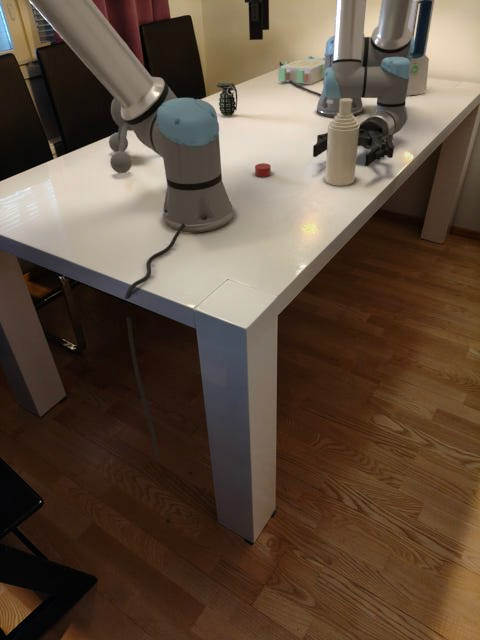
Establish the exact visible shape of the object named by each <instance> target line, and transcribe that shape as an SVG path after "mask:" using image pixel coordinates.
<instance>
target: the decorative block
mask: <svg viewBox="0 0 480 640" xmlns="http://www.w3.org/2000/svg"><path fill="white" fill-rule="evenodd" d="M282 65H283V66H281V65H280V67H279V68H278V69H277V70H278V71H277V73H278V74H277V76H278V77H277V79H278V82H285V83H286V82H287V83H290V82H289V81H290V80H291V81H292V82H294V83H296V84H304V85H312V84H315V83H317V82H319V81H321V80H324V71H325V57H313V56H312V55H311V56H308V57H306V58H303V59H302V58H299V59H297V60H295V61H292V62H289V61H285V62H284V63H283V64H282Z"/></svg>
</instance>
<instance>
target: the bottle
mask: <svg viewBox="0 0 480 640" xmlns="http://www.w3.org/2000/svg"><path fill="white" fill-rule="evenodd" d="M339 102H340V104H339V113H337V115H336V116H335V117H332V119H331V120H330V121H329V124H328V125H327V133H328V138H327V150H326V157H325V174H324V181H325V183H327V184H329V185H331V186H337V187H338V186H341V187H343V186H348V185H352V184H353V183H354V181H355V176H356V166H357V158H358V147H359V146H358V138H359V128H360V126H359V125H360V123H359V121H358V120H357V118H356V116H353V114H352V113H351V107H352V99H350V98H342V99H340V101H339Z"/></svg>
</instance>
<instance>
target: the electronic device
mask: <svg viewBox="0 0 480 640" xmlns="http://www.w3.org/2000/svg"><path fill="white" fill-rule="evenodd" d="M434 5H435V0H413V3H412V8H411V13H410V18H409V23H408V28H409V30H410V31H411V36H413V37H414V51H413V54H412V60H411V65H410V74H409V82H408V88H407V94H406V97H408V96H416V95H423V94H424V93H425V92H426V90H427V86H428V85H427V84H428V75H429V74H428V72H429V62H430V59H429V58H428V56H427V49H428V48H427V46H428V43H429V36H430V29H431V24H432V16H433V12H434ZM415 29H416V30H415Z"/></svg>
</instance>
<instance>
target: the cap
mask: <svg viewBox="0 0 480 640" xmlns="http://www.w3.org/2000/svg"><path fill="white" fill-rule="evenodd" d="M254 174H255V176H256V177H257V178H266V177H269V176H271V164H270V163H266V162H265V163H261V162H260V163H257V164H256V165H254Z"/></svg>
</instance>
